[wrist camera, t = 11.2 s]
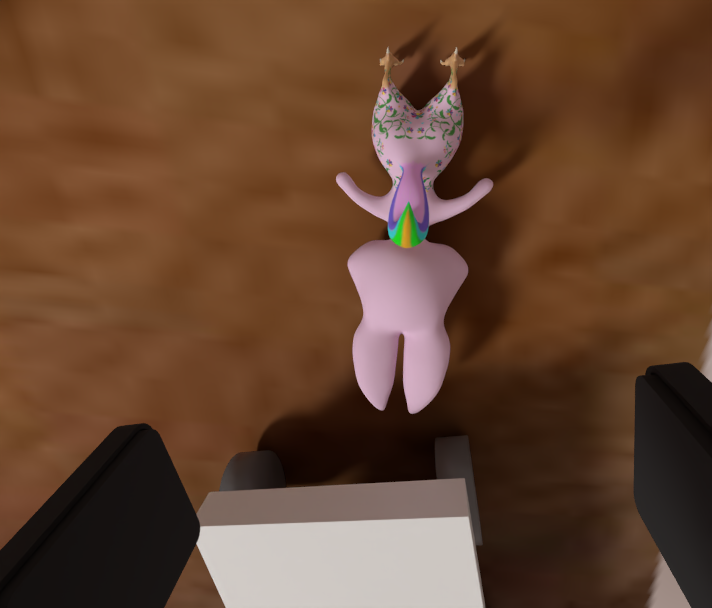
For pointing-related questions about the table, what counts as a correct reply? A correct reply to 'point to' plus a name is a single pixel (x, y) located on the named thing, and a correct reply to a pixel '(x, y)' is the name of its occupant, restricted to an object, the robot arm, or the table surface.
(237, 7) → the table surface
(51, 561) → the robot arm
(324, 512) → the trolley
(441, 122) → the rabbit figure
